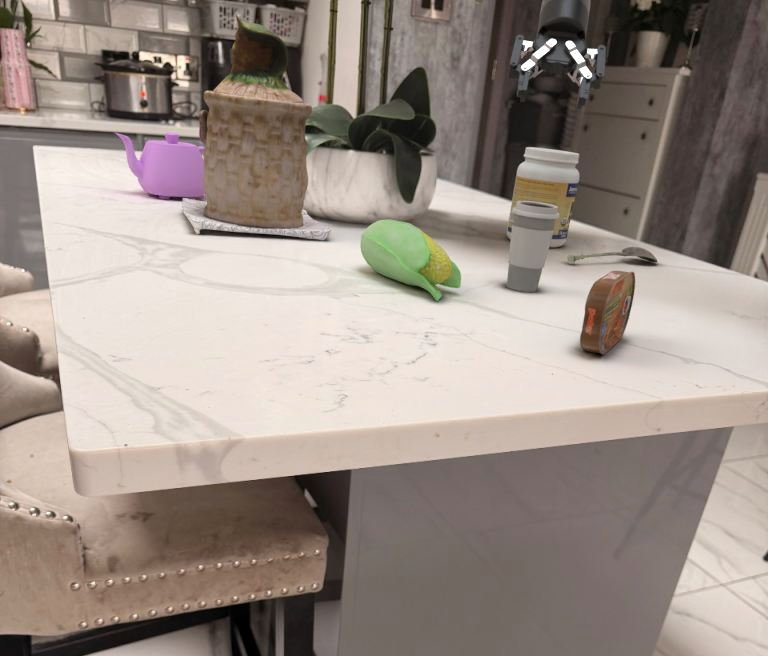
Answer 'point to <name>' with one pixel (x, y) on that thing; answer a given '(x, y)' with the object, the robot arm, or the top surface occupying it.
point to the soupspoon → (618, 254)
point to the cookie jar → (254, 146)
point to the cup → (530, 243)
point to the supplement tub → (548, 186)
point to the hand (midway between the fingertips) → (551, 101)
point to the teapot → (168, 167)
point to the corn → (408, 256)
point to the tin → (607, 311)
